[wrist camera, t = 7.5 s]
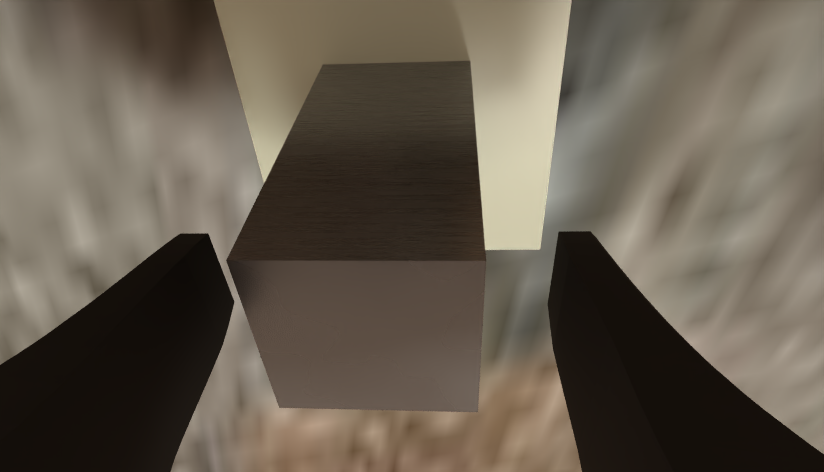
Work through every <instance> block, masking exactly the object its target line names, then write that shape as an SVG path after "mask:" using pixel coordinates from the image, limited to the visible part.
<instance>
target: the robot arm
mask: <svg viewBox="0 0 824 472" xmlns="http://www.w3.org/2000/svg"><path fill="white" fill-rule="evenodd" d="M233 305H234V300H233V297H232V295H231V292H230V289H229V287H228V284H227V282H226V279H225V276H224V274H223V271H222V269H221V266H220V263H219V261H218V258H217V255H216V253H215V250H214V248H213V245H212V242H211V240H210V237H209V235H208V234H179V235H178V236H176V237H175V238H173V239H172V240H171V241H169V242H168V243H166V244H165V245H164V246H162V247H161V248H160V249H159V250H157V251H156V252H155V253H153V254H152V255H151V256H150V257H148V258H147V259H146V260H144V261H143V262H142V263H141V264H139V265H138V266H137V267H136V268H134V269H133V270H132V271H131V272H129V273H128V274H127V275H126V276H124V277H123V278H122V279H120V280H119V281H118V282H117V283H115V284H114V285H113V286H111V287H110V288H109V289H108V290H106V291H105V292H104V293H102V294H101V295H100V296H99V297H97V298H96V299H95V300H93V301H92V302H91V303H89V304H88V305H87V306H85V307H84V308H82V309H81V310H80V311H78V312H77V313H76V314H74V315H73V316H71V317H70V318H69V319H67V320H66V321H65V322H63V323H62V324H60V325H59V326H58V327H56V328H55V329H54V330H52V331H51V332H49V333H48V334H47V335H45V336H44V337H42V338H41V339H39V340H38V341H36V342H35V343H34V344H32V345H31V346H29V347H27V348H26V349H24V350H23V351H21V352H20V353H18V354H17V355H15V356H14V357H12V358H10V359H9V360H7V361H6V362H4V363H2V364H1V365H0V472H170V471H171V468H172V465H173V462H174V459H175V456H176V454H177V451H178V449H179V446H180V443H181V441H182V438H183V436H184V434H185V432H186V429H187V427H188V425H189V422H190V420H191V418H192V415H193V413H194V411H195V409H196V406H197V404H198V402H199V399H200V397H201V395H202V392H203V390H204V388H205V386H206V383H207V381H208V379H209V376H210V374H211V372H212V369H213V367H214V365H215V362H216V360H217V358H218V355H219V353H220V350H221V348H222V345H223V342H224V339H225V335H226V332H227V329H228V325H229V321H230V317H231V313H232V309H233ZM548 310H549V319H550V328H551V336H552V344H553V351H554V355H555V359H556V363H557V367H558V372H559V376H560V380H561V384H562V388H563V392H564V396H565V400H566V404H567V408H568V412H569V416H570V420H571V424H572V429H573V433H574V437H575V441H576V445H577V449H578V453H579V458H580V463H581V468H582V472H824V454H823V453H821V452H820V451H818V450H817V449H816V448H814V447H813V446H811V445H810V444H809V443H807V442H806V441H805V440H803V439H802V438H801V437H799V436H798V435H797V434H795V433H794V432H793V431H791V430H790V429H789V428H787V427H786V426H785V425H783V424H782V423H781V422H780V421H778V420H777V419H776V418H774V417H773V416H772V415H770V414H769V413H768V412H766V411H765V410H764V409H763V408H761V407H760V406H759V405H758V404H756V403H755V402H754V401H753V400H751V399H750V398H749V397H748V396H746V395H745V394H744V393H743V392H742V391H740V390H739V389H738V388H737V387H736V386H735V385H734V384H732V383H731V382H730V381H729V380H728V379H727V378H726V377H724V376H723V375H722V374H721V373H720V372H719V371H717V370H716V369H715V368H714V367H713V366H712V365H711V364H710V363H709V362H707V361H706V360H705V359H704V358H703V357H702V356H701V355H700V354H699V353H698V352H697V351H696V350H695V349H694V348H693V347H692V346H691V345H690V344H689V343H688V342H687V341H686V340H685V339H684V338H683V337H682V336H681V335H680V334H679V333H678V332H677V331H676V330H675V329H674V328H673V327H672V326H671V325H670V324H669V323H668V322H667V321H666V320H665V319H664V318H663V316H662V315H661V314H660V313H659V312H658V311H657V310H656V309H655V308H654V307H653V305H652V304H651V303H650V302H649V301H648V300H647V299H646V298H645V297H644V295H643V294H642V293H641V292H640V291H639V290H638V289H637V287H636V286H635V285H634V284H633V283H632V282H631V280H630V279H629V278H628V277H627V276H626V274H625V273H624V272H623V271H622V270H621V268H620V267H619V266H618V265H617V263H616V262H615V261H614V260H613V258H612V257H611V256H610V255H609V253H608V252H607V251H606V250H605V248H604V247H603V246H602V245H601V243H600V242H599V241H598V239H597V238H596V237H595V236H594V235H593V234H592V233H591V232H590V231H586V232H559V233H558V240H557V246H556V253H555V259H554V266H553V273H552V279H551V286H550V292H549V299H548Z"/></svg>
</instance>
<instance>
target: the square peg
mask: <svg viewBox="0 0 824 472" xmlns="http://www.w3.org/2000/svg"><path fill="white" fill-rule="evenodd" d="M226 261H227V264H228V267H229V269H230V272H231V275H232V278H233V280H234V283H235V286H236V289H237V291H238V294H239V297H240V300H241V303H242V305H243V308H244V311H245V314H246V316H247V319H248V322H249V325H250V328H251V330H252V333H253V336H254V339H255V341H256V344H257V347H258V350H259V353H260V355H261V358H262V361H263V364H264V366H265V369H266V372H267V375H268V377H269V380H270V383H271V386H272V389H273V391H274V394H275V397H276V400H277V402H278V405H279V408H317V409H361V410H405V411H448V412H478V400H479V381H480V363H481V345H482V326H483V308H484V290H485V271H486V254H485V241H484V228H483V216H482V203H481V190H480V177H479V165H478V152H477V139H476V126H475V114H474V101H473V88H472V75H471V63H470V61H439V62H400V63H362V64H323V65H322V67H321V69H320V71H319V73H318V75H317V77H316V79H315V81H314V83H313V85H312V87H311V89H310V91H309V93H308V95H307V97H306V99H305V101H304V104H303V106H302V108H301V110H300V112H299V114H298V116H297V118H296V120H295V122H294V124H293V126H292V128H291V130H290V132H289V134H288V136H287V138H286V140H285V142H284V144H283V146H282V148H281V150H280V152H279V154H278V156H277V158H276V160H275V163H274V165H273V167H272V169H271V171H270V173H269V175H268V177H267V179H266V181H265V183H264V185H263V187H262V189H261V191H260V193H259V195H258V197H257V199H256V201H255V203H254V205H253V207H252V209H251V211H250V213H249V215H248V217H247V219H246V221H245V224H244V226H243V228H242V230H241V232H240V234H239V236H238V238H237V240H236V242H235V244H234V246H233V248H232V250H231V252H230V254H229V256H228V258H227V260H226Z"/></svg>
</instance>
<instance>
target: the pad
mask: <svg viewBox="0 0 824 472" xmlns="http://www.w3.org/2000/svg"><path fill="white" fill-rule="evenodd" d="M571 1H572V0H214V4H215V7H216V11H217V15H218V18H219V22H220V25H221V29H222V33H223V36H224V40H225V43H226V47H227V51H228V54H229V58H230V61H231V65H232V69H233V72H234V76H235V80H236V83H237V87H238V90H239V94H240V98H241V101H242V105H243V108H244V112H245V116H246V119H247V123H248V126H249V130H250V134H251V137H252V141H253V144H254V148H255V152H256V155H257V159H258V163H259V166H260V170H261V173H262V177H263V181H264V183H265V181H266V179H267V177H268V175H269V173H270V171H271V169H272V167H273V165H274V163H275V160H276V158H277V156H278V154H279V152H280V150H281V148H282V146H283V144H284V142H285V140H286V138H287V136H288V134H289V132H290V130H291V128H292V126H293V124H294V122H295V120H296V118H297V116H298V114H299V112H300V110H301V108H302V106H303V104H304V101H305V99H306V97H307V95H308V93H309V91H310V89H311V87H312V85H313V83H314V81H315V79H316V77H317V75H318V73H319V71H320V69H321V67H322V65H323V64H362V63H400V62H439V61H470V63H471V75H472V88H473V101H474V114H475V126H476V139H477V152H478V165H479V177H480V190H481V203H482V216H483V228H484V241H485V250H540V246H541V238H542V230H543V222H544V214H545V206H546V198H547V190H548V183H549V175H550V167H551V159H552V151H553V143H554V135H555V127H556V119H557V112H558V104H559V96H560V88H561V80H562V72H563V64H564V56H565V48H566V41H567V33H568V25H569V17H570V9H571Z"/></svg>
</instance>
